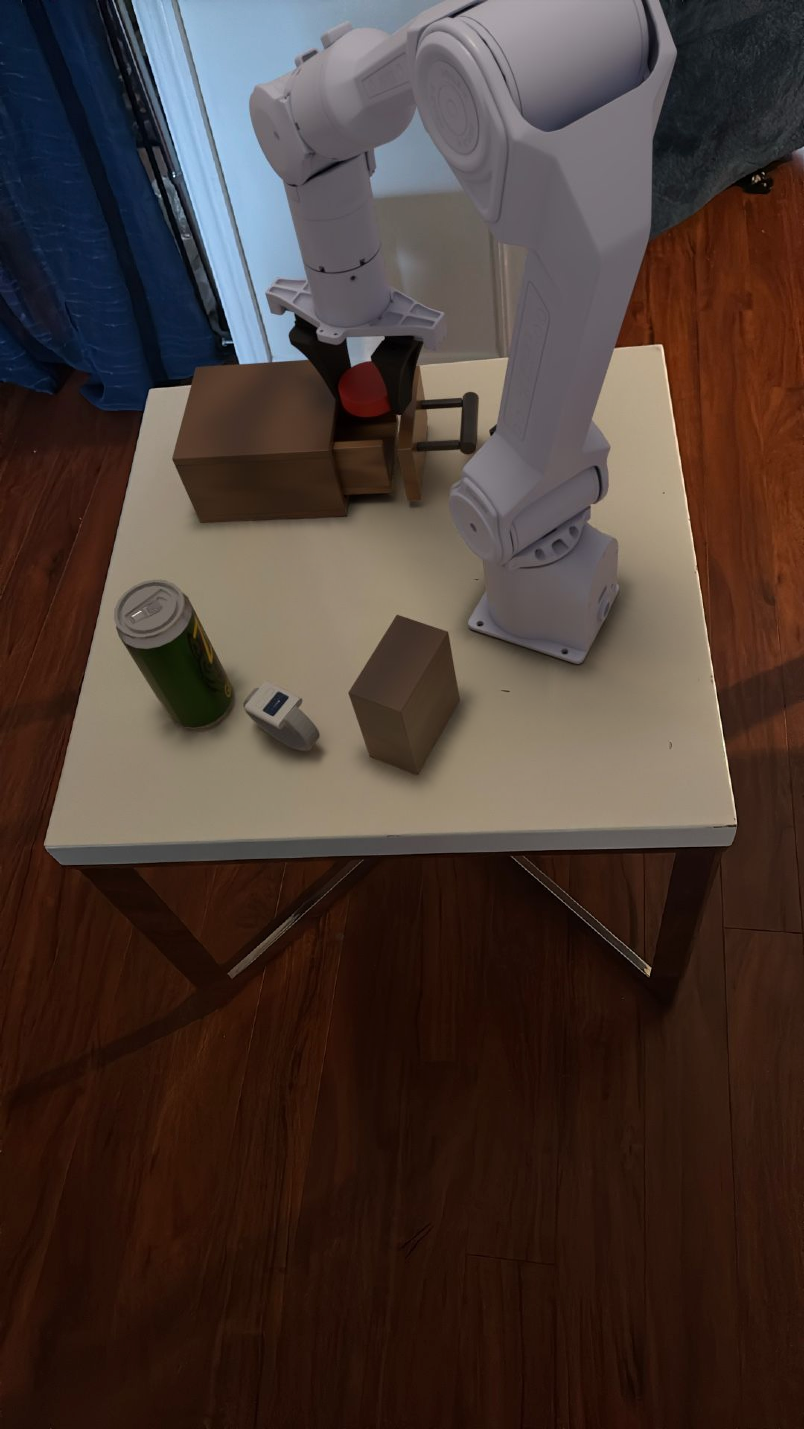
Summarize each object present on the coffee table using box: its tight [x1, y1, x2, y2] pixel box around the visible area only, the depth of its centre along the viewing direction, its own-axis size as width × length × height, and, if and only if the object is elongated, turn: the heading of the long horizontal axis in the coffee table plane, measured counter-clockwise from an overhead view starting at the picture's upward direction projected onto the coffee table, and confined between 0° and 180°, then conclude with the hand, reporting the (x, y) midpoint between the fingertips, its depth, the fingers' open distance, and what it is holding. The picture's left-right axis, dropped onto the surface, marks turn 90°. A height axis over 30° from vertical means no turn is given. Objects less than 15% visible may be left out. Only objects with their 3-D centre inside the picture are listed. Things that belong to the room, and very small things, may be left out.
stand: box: [348, 614, 461, 775], centre depth 73 cm, size 4×7×8 cm, turn 152°
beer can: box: [113, 579, 234, 730], centre depth 75 cm, size 5×5×12 cm
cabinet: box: [171, 359, 350, 523], centre depth 90 cm, size 13×11×8 cm
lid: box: [338, 360, 391, 417], centre depth 84 cm, size 5×5×2 cm
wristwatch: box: [242, 680, 321, 752], centre depth 76 cm, size 6×3×5 cm, turn 55°
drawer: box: [332, 365, 480, 502], centre depth 88 cm, size 17×10×6 cm, turn 86°
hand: (372, 399), depth 85 cm, fingers closed on lid, 5 cm apart
